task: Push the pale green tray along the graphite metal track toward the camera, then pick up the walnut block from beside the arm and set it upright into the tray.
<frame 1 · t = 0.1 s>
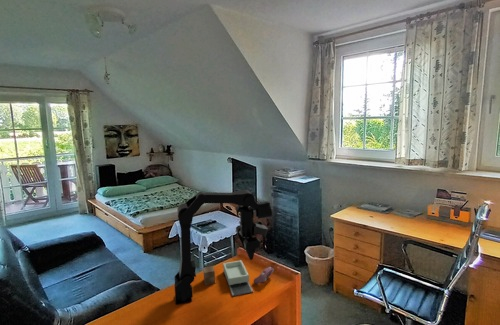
hand: (248, 254, 126), 15 cm above the table, fingers open, 9 cm apart
walnut block: (209, 281, 133), on the table
sweet potato: (264, 280, 133), on the table
pale green tray: (235, 272, 134), point 3 cm above the table, slide at 0.0 cm
track: (237, 281, 132), on the table
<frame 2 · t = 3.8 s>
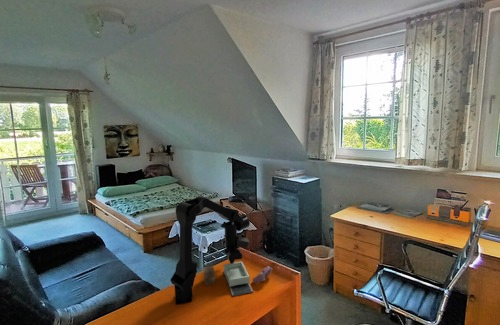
hand: (232, 264, 141), 3 cm above the table, fingers closed
pale green tray: (236, 273, 133), point 3 cm above the table, slide at 1.0 cm, touching gripper
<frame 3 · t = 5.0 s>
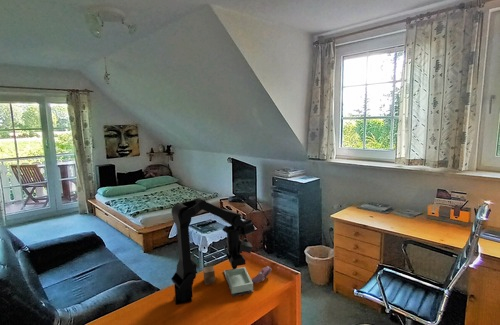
hand: (234, 270, 136), 3 cm above the table, fingers closed
pale green tray: (238, 280, 128), point 3 cm above the table, slide at 6.4 cm, touching gripper
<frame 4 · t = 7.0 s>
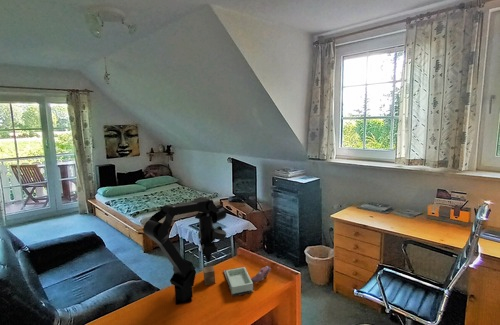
hand: (208, 258, 131), 11 cm above the table, fingers open, 4 cm apart
pale green tray: (238, 280, 128), point 3 cm above the table, slide at 6.5 cm
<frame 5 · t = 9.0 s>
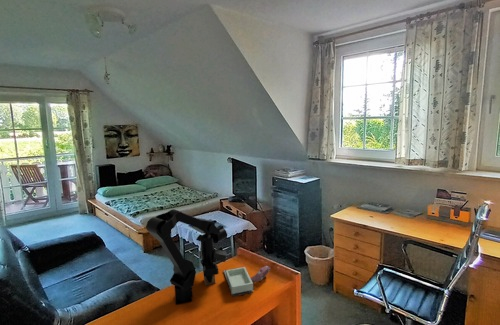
hand: (209, 279, 132), 1 cm above the table, fingers closed on walnut block, 4 cm apart
walnut block: (209, 281, 133), on the table, touching gripper
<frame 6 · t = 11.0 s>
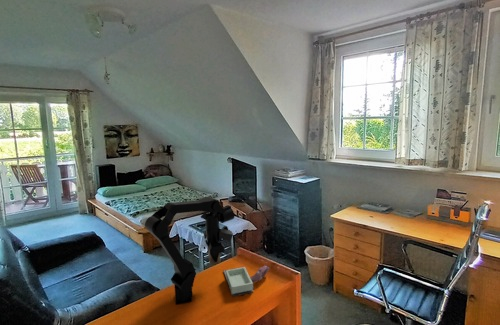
hand: (214, 259, 130), 11 cm above the table, fingers closed on walnut block, 4 cm apart
walnut block: (214, 261, 130), point 10 cm above the table, touching gripper
when the fingers open (5 cm above the table, at t = 13.0 s): walnut block drops 2 cm, resting on pale green tray.
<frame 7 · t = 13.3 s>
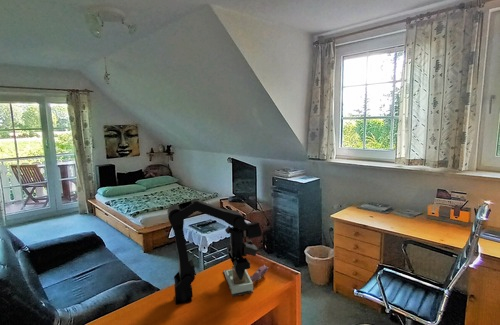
hand: (238, 274, 128), 5 cm above the table, fingers open, 8 cm apart
walnut block: (238, 280, 128), point 2 cm above the table, touching pale green tray
pale green tray: (238, 280, 128), point 3 cm above the table, slide at 6.5 cm, touching walnut block
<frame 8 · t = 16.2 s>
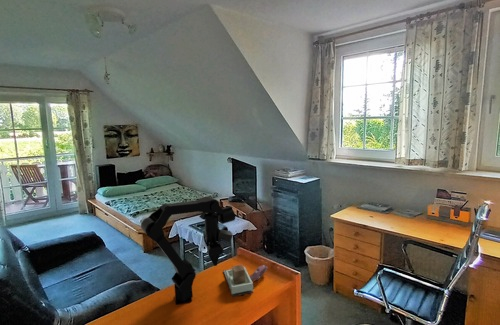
hand: (213, 260, 127), 12 cm above the table, fingers open, 9 cm apart
at the end: pale green tray slide at 6.5 cm; walnut block 0.0 cm off-centre on the pale green tray, point 2.4 cm above the pale green tray's base; walnut block tilted 0° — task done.
